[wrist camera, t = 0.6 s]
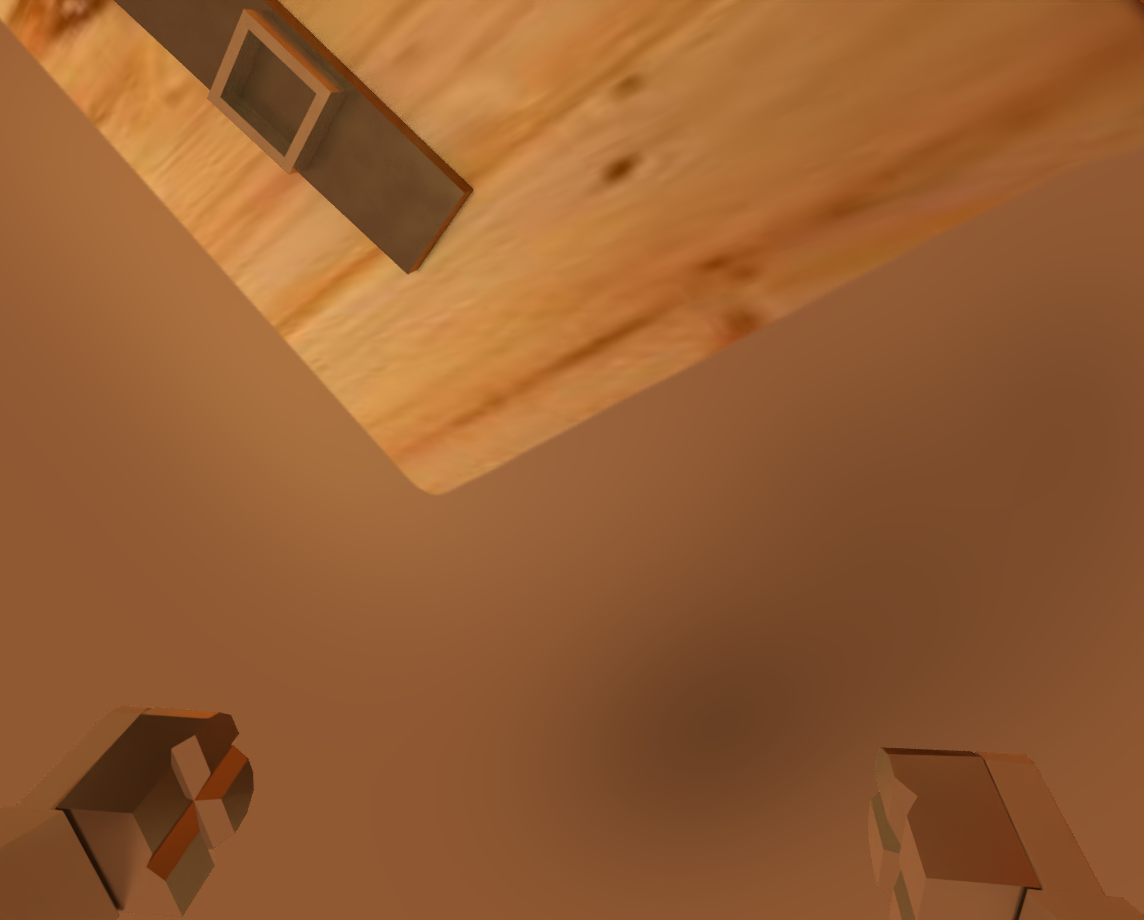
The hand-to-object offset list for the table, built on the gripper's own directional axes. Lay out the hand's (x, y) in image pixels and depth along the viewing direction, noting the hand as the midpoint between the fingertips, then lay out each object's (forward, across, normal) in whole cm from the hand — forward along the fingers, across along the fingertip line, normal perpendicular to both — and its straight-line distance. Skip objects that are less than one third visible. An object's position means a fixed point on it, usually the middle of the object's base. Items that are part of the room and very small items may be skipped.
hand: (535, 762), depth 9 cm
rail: (+49, +27, -11) cm, 57 cm away
